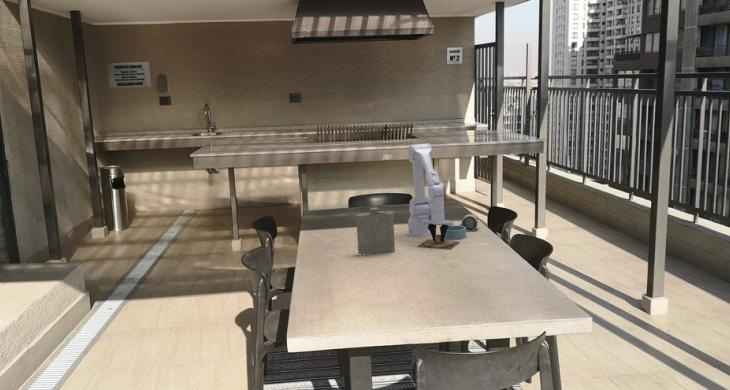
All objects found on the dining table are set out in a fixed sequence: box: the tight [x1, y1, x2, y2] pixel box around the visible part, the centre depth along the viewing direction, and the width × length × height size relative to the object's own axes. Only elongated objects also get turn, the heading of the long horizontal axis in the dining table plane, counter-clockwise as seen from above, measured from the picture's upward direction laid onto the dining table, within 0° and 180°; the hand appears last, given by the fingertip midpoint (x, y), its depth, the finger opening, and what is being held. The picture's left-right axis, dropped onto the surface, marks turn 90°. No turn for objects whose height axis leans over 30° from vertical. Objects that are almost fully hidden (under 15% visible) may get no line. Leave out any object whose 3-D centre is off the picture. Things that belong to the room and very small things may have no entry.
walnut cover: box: [423, 234, 454, 249], centre depth 267 cm, size 13×13×4 cm
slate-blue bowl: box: [444, 224, 467, 241], centre depth 279 cm, size 11×11×4 cm
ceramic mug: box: [457, 213, 479, 232], centre depth 293 cm, size 11×8×8 cm
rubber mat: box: [416, 238, 461, 251], centre depth 267 cm, size 16×14×1 cm
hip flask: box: [355, 207, 396, 256], centre depth 258 cm, size 16×4×20 cm, turn 94°
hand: (438, 240), depth 267 cm, fingers closed on walnut cover, 3 cm apart
